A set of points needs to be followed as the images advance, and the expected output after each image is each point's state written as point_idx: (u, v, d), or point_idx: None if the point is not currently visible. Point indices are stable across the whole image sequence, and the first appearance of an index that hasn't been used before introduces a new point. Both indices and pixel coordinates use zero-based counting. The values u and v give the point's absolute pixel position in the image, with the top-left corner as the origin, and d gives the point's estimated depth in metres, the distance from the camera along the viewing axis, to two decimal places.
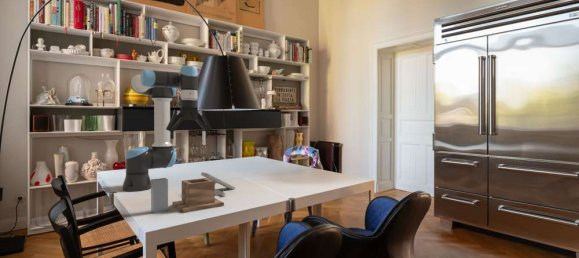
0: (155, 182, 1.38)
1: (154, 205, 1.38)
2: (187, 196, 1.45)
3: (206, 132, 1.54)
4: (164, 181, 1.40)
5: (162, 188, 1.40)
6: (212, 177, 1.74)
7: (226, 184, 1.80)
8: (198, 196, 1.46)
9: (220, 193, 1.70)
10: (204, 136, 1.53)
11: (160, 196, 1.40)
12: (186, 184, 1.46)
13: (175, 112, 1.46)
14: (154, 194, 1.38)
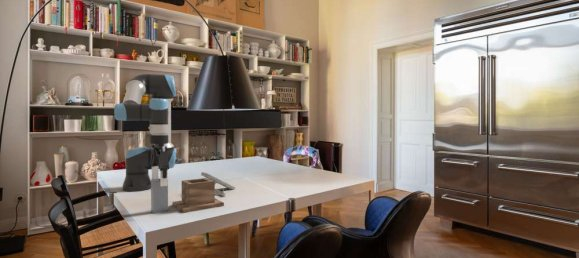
0: (155, 182, 1.38)
1: (154, 205, 1.38)
2: (187, 196, 1.45)
3: (163, 172, 1.34)
4: None
5: (162, 188, 1.40)
6: (212, 177, 1.74)
7: (226, 184, 1.80)
8: (198, 196, 1.46)
9: (220, 193, 1.70)
10: (160, 176, 1.35)
11: (160, 196, 1.40)
12: (186, 184, 1.46)
13: (152, 147, 1.45)
14: (154, 194, 1.38)
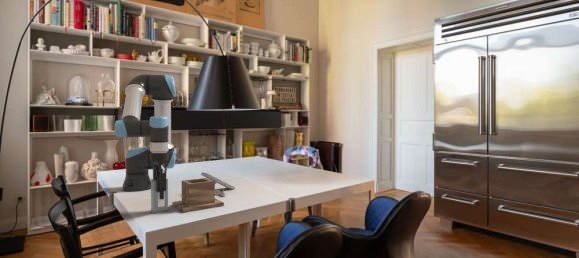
0: (155, 182, 1.38)
1: (154, 205, 1.38)
2: (187, 196, 1.45)
3: (160, 193, 1.38)
4: None
5: None
6: (212, 177, 1.74)
7: (226, 184, 1.80)
8: (198, 196, 1.46)
9: (220, 193, 1.70)
10: None
11: None
12: (186, 184, 1.46)
13: (152, 167, 1.45)
14: (154, 194, 1.38)
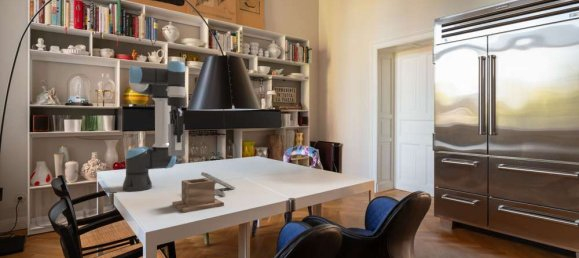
0: (172, 125, 1.41)
1: (171, 148, 1.41)
2: (187, 196, 1.45)
3: (177, 136, 1.41)
4: None
5: None
6: (212, 177, 1.74)
7: (226, 184, 1.80)
8: (198, 196, 1.46)
9: (220, 193, 1.70)
10: (175, 140, 1.42)
11: None
12: (186, 184, 1.46)
13: (169, 113, 1.48)
14: (171, 137, 1.41)
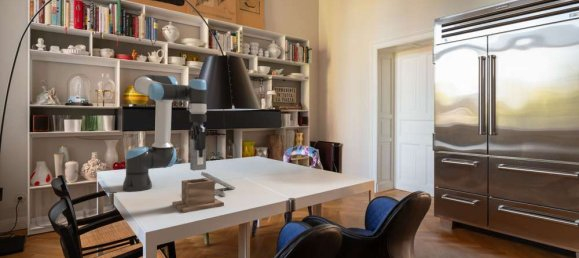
0: (195, 141, 1.47)
1: (194, 163, 1.47)
2: (187, 196, 1.45)
3: (199, 151, 1.47)
4: None
5: None
6: (212, 177, 1.74)
7: (226, 184, 1.80)
8: (198, 196, 1.46)
9: (220, 193, 1.70)
10: (197, 155, 1.47)
11: None
12: (186, 184, 1.46)
13: None
14: (194, 152, 1.47)
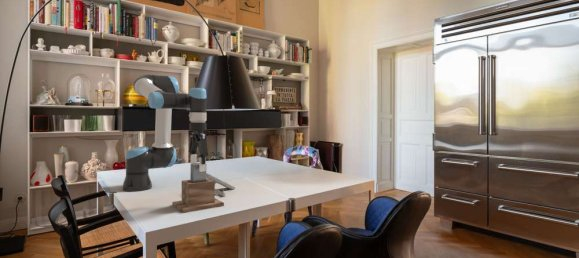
0: (195, 166, 1.47)
1: None
2: (187, 196, 1.45)
3: (202, 158, 1.45)
4: None
5: (201, 172, 1.49)
6: (212, 177, 1.74)
7: (226, 184, 1.80)
8: (198, 196, 1.46)
9: (220, 193, 1.70)
10: (199, 162, 1.45)
11: (199, 179, 1.49)
12: (186, 184, 1.46)
13: (190, 135, 1.54)
14: (194, 177, 1.47)
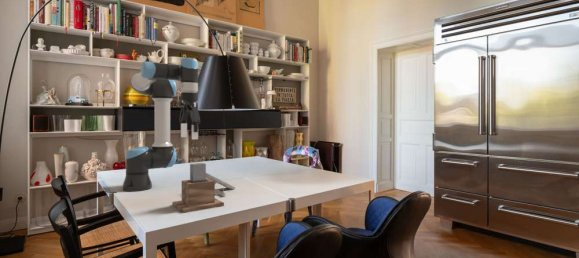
0: (195, 166, 1.47)
1: None
2: (187, 196, 1.45)
3: (194, 126, 1.44)
4: (202, 165, 1.50)
5: (201, 172, 1.49)
6: (212, 177, 1.74)
7: (226, 184, 1.80)
8: (198, 196, 1.46)
9: (220, 193, 1.70)
10: (192, 130, 1.44)
11: (199, 179, 1.49)
12: (186, 184, 1.46)
13: (181, 105, 1.54)
14: (194, 177, 1.47)
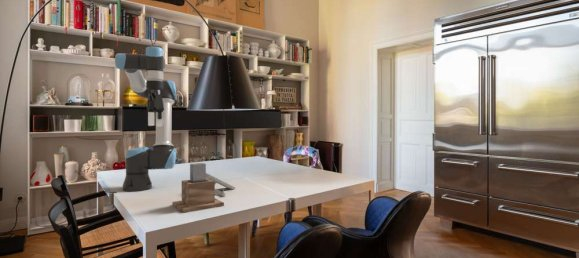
0: (195, 166, 1.47)
1: None
2: (187, 196, 1.45)
3: (158, 113, 1.46)
4: (202, 165, 1.50)
5: (201, 172, 1.49)
6: (212, 177, 1.74)
7: (226, 184, 1.80)
8: (198, 196, 1.46)
9: (220, 193, 1.70)
10: (156, 117, 1.46)
11: (199, 179, 1.49)
12: (186, 184, 1.46)
13: (148, 94, 1.56)
14: (194, 177, 1.47)
